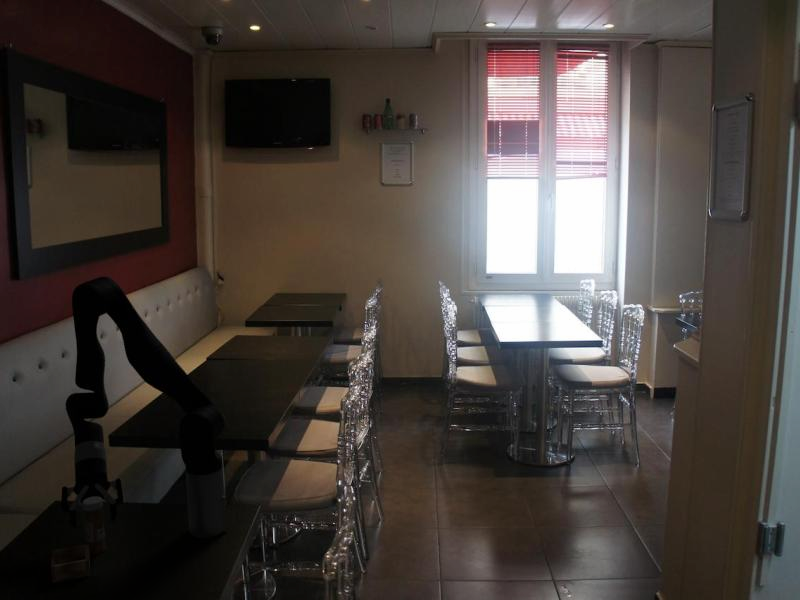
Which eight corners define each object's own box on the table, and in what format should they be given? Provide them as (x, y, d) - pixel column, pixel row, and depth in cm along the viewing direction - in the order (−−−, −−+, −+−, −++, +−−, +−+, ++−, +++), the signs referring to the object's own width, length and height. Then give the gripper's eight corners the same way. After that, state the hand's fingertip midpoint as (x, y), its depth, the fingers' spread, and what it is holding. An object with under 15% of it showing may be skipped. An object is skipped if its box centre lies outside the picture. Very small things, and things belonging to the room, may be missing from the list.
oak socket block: (90, 559, 182) (88, 544, 181) (90, 576, 175) (88, 560, 174) (53, 565, 179) (52, 550, 178) (52, 583, 172) (50, 567, 171)
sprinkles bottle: (108, 551, 185) (104, 500, 183) (88, 556, 183) (84, 505, 180) (104, 543, 189) (100, 494, 187) (84, 548, 187) (80, 498, 184)
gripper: (58, 460, 187) (60, 524, 178) (119, 452, 192) (124, 513, 183) (61, 472, 192) (63, 534, 184) (120, 464, 198) (125, 524, 189)
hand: (94, 524), depth 184 cm, fingers open, 8 cm apart
